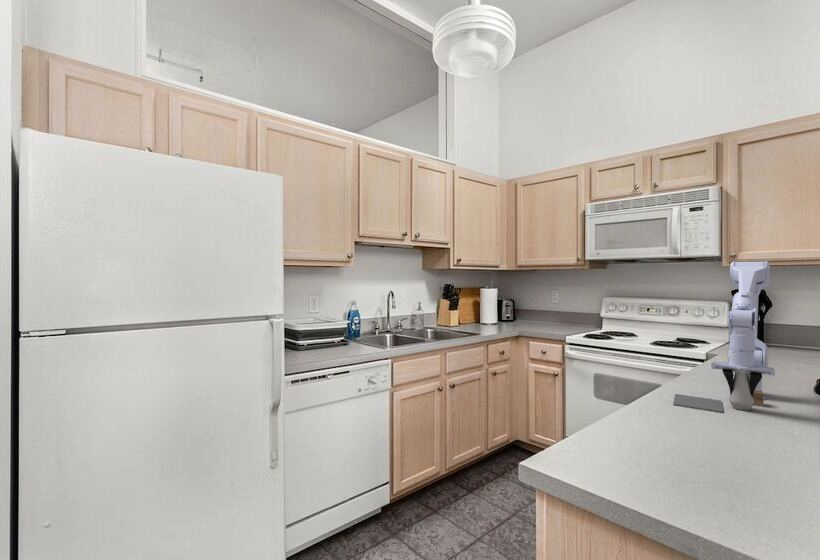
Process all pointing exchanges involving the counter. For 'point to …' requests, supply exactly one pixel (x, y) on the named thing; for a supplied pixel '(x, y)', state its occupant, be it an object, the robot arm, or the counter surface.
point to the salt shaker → (741, 390)
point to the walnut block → (758, 398)
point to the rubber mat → (698, 403)
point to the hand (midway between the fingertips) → (741, 396)
